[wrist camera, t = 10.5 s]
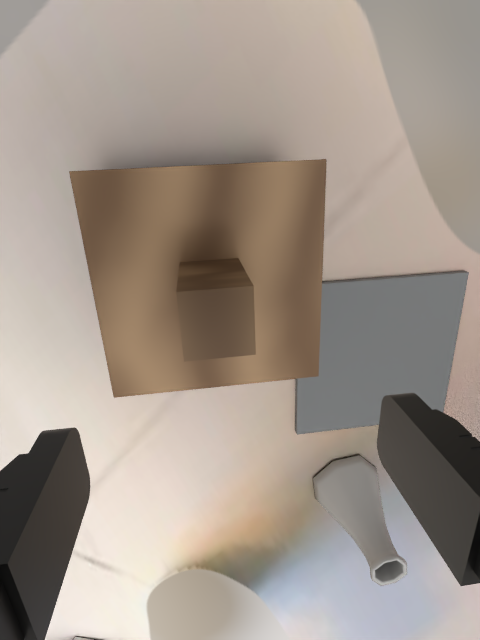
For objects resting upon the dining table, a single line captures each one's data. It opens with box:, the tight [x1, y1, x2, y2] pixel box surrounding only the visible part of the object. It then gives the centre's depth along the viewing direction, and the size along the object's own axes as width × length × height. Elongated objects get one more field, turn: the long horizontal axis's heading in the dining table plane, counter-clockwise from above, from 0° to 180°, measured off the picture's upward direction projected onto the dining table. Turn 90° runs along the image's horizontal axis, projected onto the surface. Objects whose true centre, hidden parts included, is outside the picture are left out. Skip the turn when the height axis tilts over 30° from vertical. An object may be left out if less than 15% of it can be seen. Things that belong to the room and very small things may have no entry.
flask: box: [313, 455, 407, 586], centre depth 36 cm, size 7×7×10 cm
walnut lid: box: [69, 159, 326, 397], centre depth 21 cm, size 14×14×7 cm
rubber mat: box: [295, 271, 469, 434], centre depth 35 cm, size 15×15×1 cm
